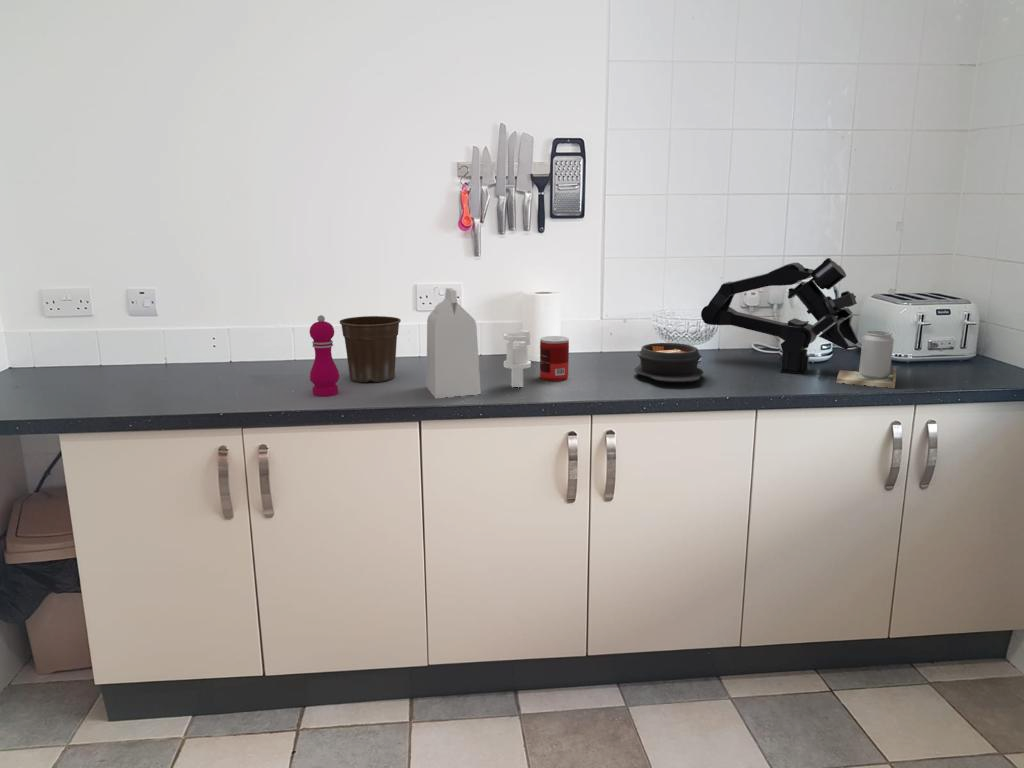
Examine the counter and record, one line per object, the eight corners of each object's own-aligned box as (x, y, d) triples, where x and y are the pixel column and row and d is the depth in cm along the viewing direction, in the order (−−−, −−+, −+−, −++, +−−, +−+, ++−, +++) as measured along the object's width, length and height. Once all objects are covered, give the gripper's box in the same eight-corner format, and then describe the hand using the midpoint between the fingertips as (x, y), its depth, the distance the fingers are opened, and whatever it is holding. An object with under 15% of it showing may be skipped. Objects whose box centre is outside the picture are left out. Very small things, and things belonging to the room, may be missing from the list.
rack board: (836, 382, 211) (837, 371, 210) (839, 374, 220) (840, 363, 219) (894, 388, 205) (896, 376, 204) (895, 379, 214) (896, 367, 214)
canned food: (572, 376, 219) (573, 337, 216) (561, 382, 212) (562, 342, 209) (546, 373, 222) (547, 335, 219) (535, 379, 215) (535, 339, 212)
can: (890, 380, 207) (895, 335, 204) (859, 378, 209) (864, 333, 206) (888, 374, 213) (893, 330, 211) (858, 372, 216) (862, 329, 213)
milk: (480, 395, 199) (479, 291, 193) (435, 398, 196) (432, 293, 190) (469, 384, 211) (467, 286, 204) (426, 387, 207) (423, 287, 201)
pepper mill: (313, 390, 204) (308, 313, 200) (341, 389, 205) (337, 312, 200) (308, 397, 197) (303, 317, 193) (338, 396, 198) (333, 317, 193)
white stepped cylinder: (522, 391, 203) (522, 333, 199) (498, 387, 206) (498, 331, 203) (535, 385, 209) (535, 329, 205) (512, 382, 212) (511, 326, 209)
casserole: (626, 368, 229) (626, 339, 227) (689, 367, 230) (691, 338, 228) (644, 389, 205) (645, 357, 203) (715, 388, 206) (717, 356, 204)
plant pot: (369, 369, 228) (366, 313, 224) (414, 375, 220) (412, 317, 217) (330, 380, 215) (326, 321, 211) (376, 388, 207) (374, 326, 203)
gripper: (829, 285, 205) (869, 332, 201) (848, 278, 219) (886, 322, 216) (795, 312, 211) (833, 358, 208) (816, 304, 226) (852, 347, 222)
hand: (852, 345), depth 213 cm, fingers open, 9 cm apart
